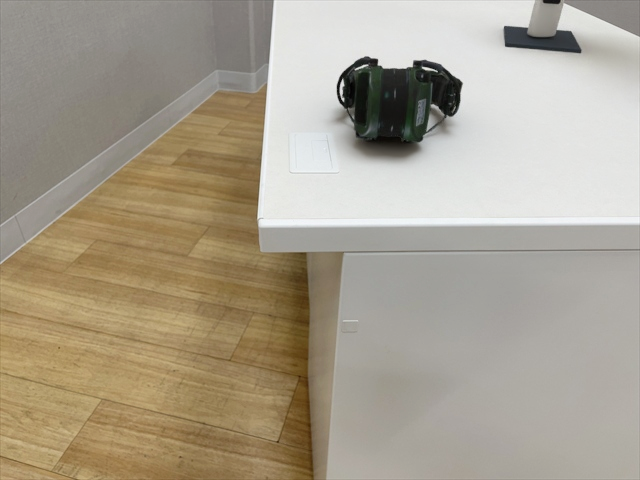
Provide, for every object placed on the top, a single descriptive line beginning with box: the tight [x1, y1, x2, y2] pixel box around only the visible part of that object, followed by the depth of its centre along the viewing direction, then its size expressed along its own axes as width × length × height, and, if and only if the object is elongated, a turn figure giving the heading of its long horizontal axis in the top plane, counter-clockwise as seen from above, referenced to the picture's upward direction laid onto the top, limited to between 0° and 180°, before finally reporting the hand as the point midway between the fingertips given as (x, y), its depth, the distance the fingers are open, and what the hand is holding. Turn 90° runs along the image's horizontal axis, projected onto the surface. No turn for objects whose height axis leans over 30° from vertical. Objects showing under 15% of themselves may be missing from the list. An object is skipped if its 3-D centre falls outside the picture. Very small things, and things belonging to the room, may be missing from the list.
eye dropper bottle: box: [527, 0, 565, 37], centre depth 102 cm, size 4×6×12 cm
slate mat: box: [503, 25, 582, 54], centre depth 105 cm, size 14×16×1 cm
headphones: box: [336, 55, 464, 144], centre depth 64 cm, size 13×13×20 cm
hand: (550, 0), depth 101 cm, fingers closed on eye dropper bottle, 4 cm apart
